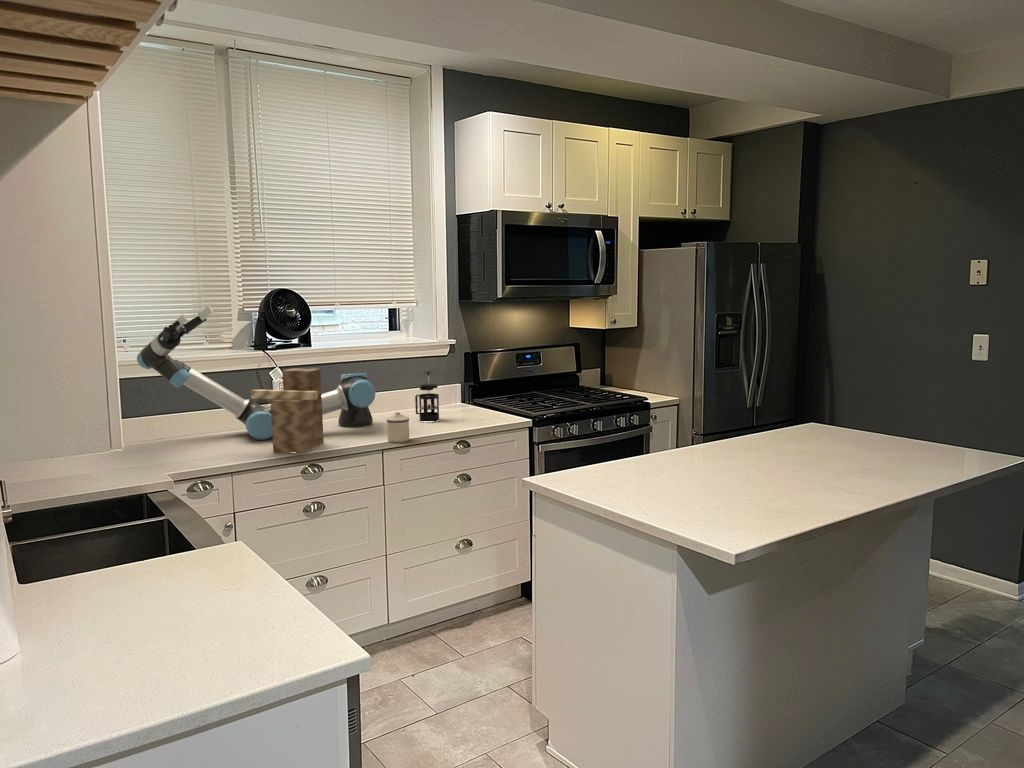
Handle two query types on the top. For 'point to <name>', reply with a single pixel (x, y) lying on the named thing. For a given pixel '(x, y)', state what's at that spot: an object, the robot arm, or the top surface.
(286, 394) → the beech rod
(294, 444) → the walnut shelf
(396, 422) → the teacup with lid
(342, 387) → the robot arm
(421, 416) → the french press
